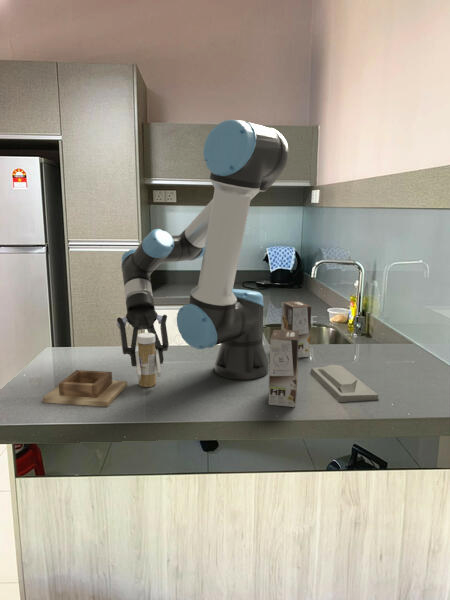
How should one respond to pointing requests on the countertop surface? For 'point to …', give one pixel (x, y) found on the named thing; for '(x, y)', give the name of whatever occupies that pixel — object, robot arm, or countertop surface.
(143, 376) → the sprinkles bottle
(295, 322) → the coffee box
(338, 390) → the soap mold
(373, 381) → the countertop surface
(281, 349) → the coffee box
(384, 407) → the countertop surface
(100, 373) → the socket board
